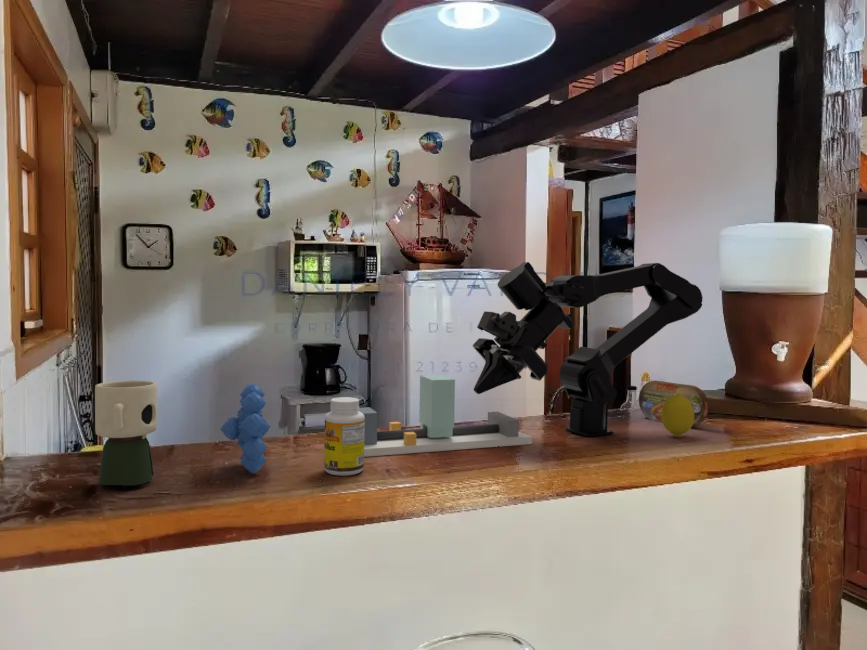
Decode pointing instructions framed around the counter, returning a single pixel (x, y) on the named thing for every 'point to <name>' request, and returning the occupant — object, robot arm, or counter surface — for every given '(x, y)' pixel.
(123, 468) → the character mug
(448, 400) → the sleeve
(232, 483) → the counter surface
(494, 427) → the cord rig
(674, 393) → the tin
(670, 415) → the lemon
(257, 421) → the grapes
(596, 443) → the counter surface
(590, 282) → the robot arm
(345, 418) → the supplement bottle
